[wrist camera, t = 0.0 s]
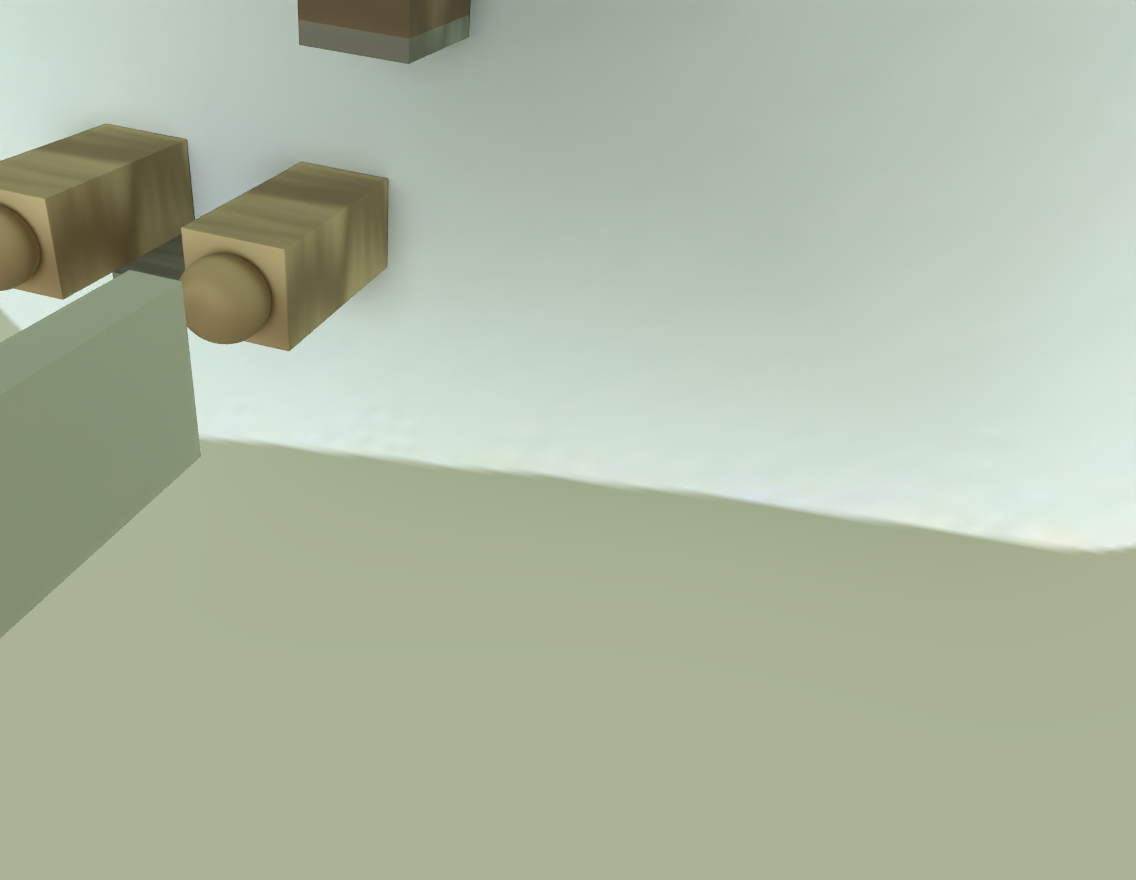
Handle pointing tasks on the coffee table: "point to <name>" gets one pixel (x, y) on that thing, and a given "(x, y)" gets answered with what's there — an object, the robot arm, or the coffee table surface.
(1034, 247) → the coffee table surface
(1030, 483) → the coffee table surface
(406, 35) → the rail
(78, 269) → the knobbed wooden twin blocks
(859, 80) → the coffee table surface
